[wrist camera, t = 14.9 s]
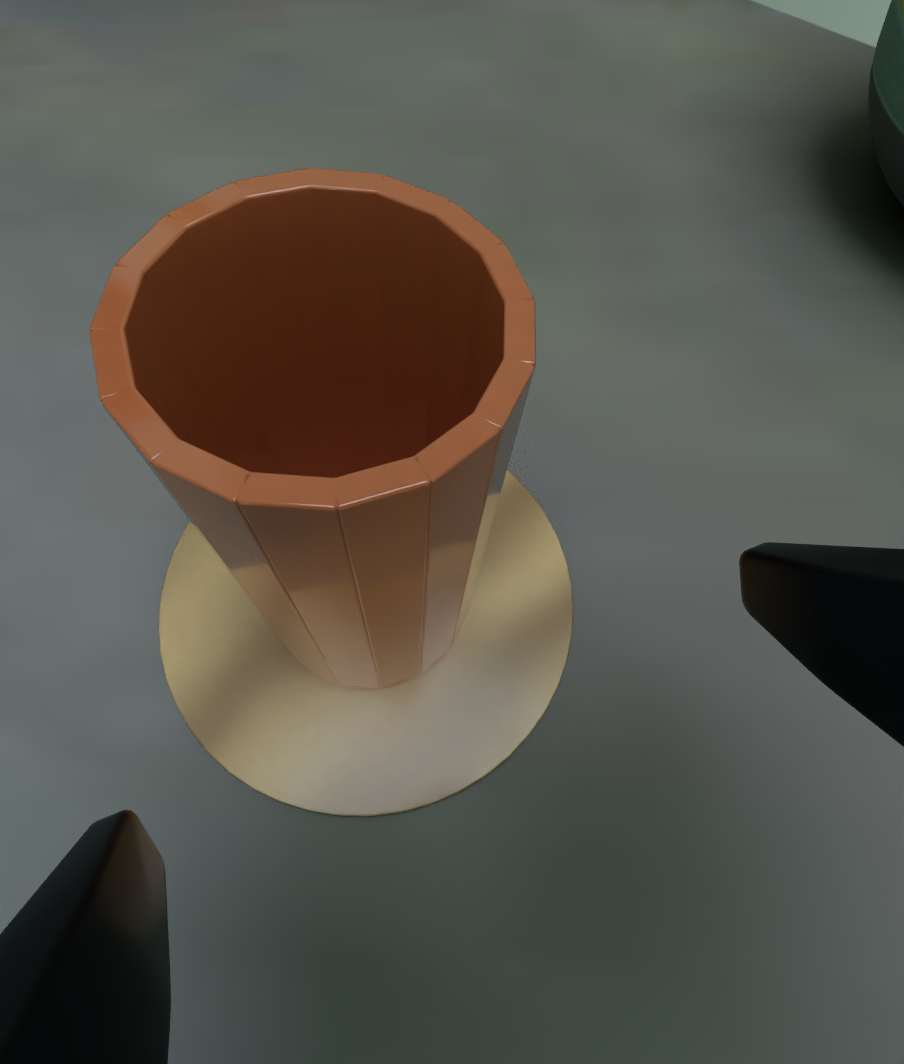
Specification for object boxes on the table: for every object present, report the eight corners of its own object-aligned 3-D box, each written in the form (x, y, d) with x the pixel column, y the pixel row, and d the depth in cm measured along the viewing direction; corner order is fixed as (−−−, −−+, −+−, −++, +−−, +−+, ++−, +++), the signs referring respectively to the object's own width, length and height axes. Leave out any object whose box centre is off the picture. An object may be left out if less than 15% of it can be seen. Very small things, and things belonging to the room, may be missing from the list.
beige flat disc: (647, 585, 22) (651, 582, 22) (373, 929, 18) (372, 930, 17) (370, 368, 26) (370, 361, 25) (75, 605, 21) (69, 602, 20)
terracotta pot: (497, 553, 22) (595, 252, 10) (414, 726, 19) (418, 588, 8) (335, 479, 23) (253, 123, 11) (234, 635, 20) (-12, 386, 9)
